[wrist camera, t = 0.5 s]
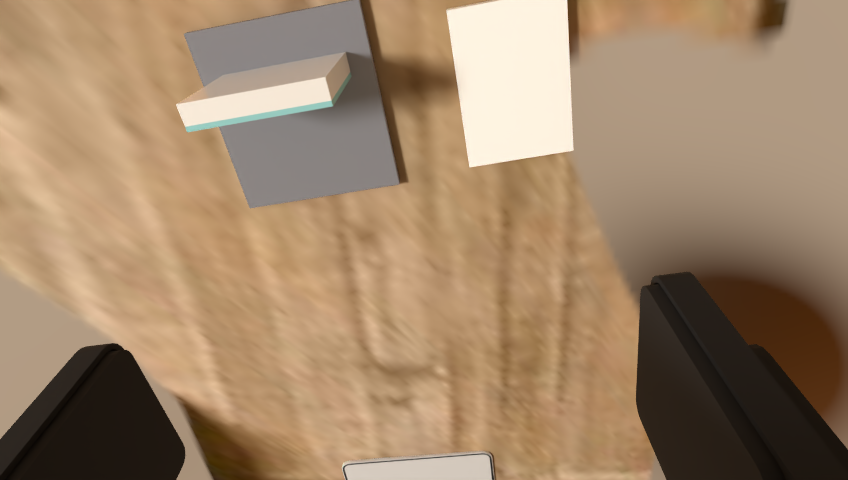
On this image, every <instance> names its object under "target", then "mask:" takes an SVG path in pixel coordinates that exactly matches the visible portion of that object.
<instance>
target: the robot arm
mask: <svg viewBox="0 0 848 480" xmlns="http://www.w3.org/2000/svg"><path fill="white" fill-rule="evenodd" d="M636 404H637V409H638V413H639V417H640V419H641V422H642V424H643V426H644V429H645V431H646V433H647V436H648V438H649V440H650V443H651V445H652V447H653V450H654V452H655V454H656V456H657V459H658V461H659V463H660V466H661V468H662V470H663V473H664V475H665V477H666V480H848V450H847V448H846V447H845V446H844V444H843V443H842V442H841V441H840V440H839V438H838V437H837V436H836V435H835V434H834V432H833V431H832V430H831V428H830V427H829V426H828V425H827V424H826V422H825V421H824V420H823V419H822V417H821V416H820V415H819V414H818V413H817V411H816V410H815V409H814V408H813V406H812V405H811V404H810V403H809V401H808V400H807V399H806V398H805V397H804V395H803V394H802V393H801V392H800V390H799V389H798V388H797V387H796V386H795V384H794V383H793V382H792V381H791V379H790V378H789V377H788V376H787V375H786V373H785V372H784V371H783V370H782V368H781V367H780V366H779V365H778V363H777V362H776V361H775V360H774V359H773V357H772V356H771V355H770V354H769V353H768V352H767V351H766V350H765V349H764V348H763V347H761V346H758V345H756V344H754V345H748V344H747V343H746V342H745V341H744V339H743V338H742V337H741V335H740V334H739V333H738V331H737V330H736V329H735V328H734V326H733V325H732V324H731V322H730V321H729V320H728V319H727V317H726V316H725V315H724V314H723V312H722V311H721V310H720V308H719V307H718V306H717V305H716V303H715V302H714V301H713V299H712V298H711V297H710V296H709V294H708V293H707V292H706V290H705V289H704V288H703V287H702V286H701V284H700V283H699V281H698V280H697V279H696V278H695V276H694V275H693V274H691V273H690V272H683V273H675V274H667V275H659V276H654V277H653V279H652V281H651V285H648V286H643V287H642V289H641V297H640V319H639V342H638V364H637V386H636ZM184 459H185V447H184V445H183V443H182V441H181V439H180V437H179V436H178V434H177V432H176V430H175V429H174V427H173V425H172V423H171V422H170V420H169V418H168V417H167V415H166V413H165V411H164V410H163V408H162V406H161V404H160V402H159V401H158V399H157V397H156V395H155V394H154V392H153V390H152V388H151V387H150V385H149V383H148V381H147V380H146V378H145V376H144V374H143V373H142V371H141V369H140V367H139V366H138V364H137V362H136V360H135V359H134V357H133V355H132V354H131V353H130V352H129V351H127V350H124V349H123V348H122V346H120V345H118V344H114V343H111V344H103V345H96V346H87V347H84V348H81V349H80V350H78V351H77V352H76V353H75V354H74V356H73V357H72V358H71V359H70V360H69V361H68V362H67V363H66V365H65V366H64V367H63V368H62V369H61V370H60V371H59V373H58V374H57V375H56V376H55V377H54V378H53V379H52V381H51V382H50V383H49V384H48V385H47V386H46V388H45V389H44V390H43V391H42V392H41V393H40V394H39V396H38V397H37V398H36V399H35V400H34V401H33V402H32V404H31V405H30V406H29V407H28V408H27V409H26V411H25V412H24V413H23V414H22V415H21V416H20V417H19V419H18V420H17V421H16V422H15V423H14V424H13V425H12V426H11V428H10V429H9V430H8V431H7V432H6V433H5V435H4V436H3V437H2V438H1V439H0V480H176V478H177V477H178V475H179V473H180V471H181V468H182V466H183V463H184Z"/></svg>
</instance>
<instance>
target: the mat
mask: <svg viewBox="0 0 848 480" xmlns="http://www.w3.org/2000/svg"><path fill="white" fill-rule="evenodd" d="M184 36H185V39H186V41H187V44H188V46H189V49H190V52H191V54H192V57H193V60H194V62H195V65H196V68H197V70H198V73H199V75H200V78H201V81H202V83H203V86H204V87H205V86H206V85H208V84H210V83H211V82H213V81H214V80H216V79H218V78H219V77H221V76H222V75H226V74H231V73H236V72H242V71H247V70H252V69H257V68H263V67H268V66H273V65H279V64H284V63H289V62H295V61H300V60H305V59H311V58H316V57H321V56H326V55H332V54H337V53H342V52H346V55H347V59H348V64H349V68H350V72H351V76H352V77H351V78H350V80H349V81H348V83H347V85H346V86H345V88H344V89H343V91H342V93H341V94H340V96H339V98H338V99H337V101H336V102H335V104H334V106H332V107H326V108H321V109H315V110H310V111H304V112H298V113H293V114H287V115H281V116H276V117H270V118H265V119H259V120H253V121H248V122H242V123H237V124H231V125H225V126H220V127H219V128H220V131H221V134H222V136H223V139H224V141H225V144H226V147H227V149H228V152H229V155H230V157H231V160H232V163H233V165H234V168H235V170H236V173H237V176H238V178H239V181H240V184H241V186H242V189H243V192H244V194H245V197H246V199H247V202H248V205H249V207H250V208H255V207H261V206H267V205H273V204H280V203H286V202H292V201H298V200H305V199H311V198H317V197H323V196H330V195H336V194H342V193H348V192H354V191H361V190H367V189H373V188H379V187H386V186H392V185H398V184H399V183H400V179H399V175H398V170H397V166H396V161H395V156H394V152H393V147H392V143H391V138H390V134H389V129H388V124H387V120H386V115H385V111H384V106H383V101H382V97H381V92H380V88H379V83H378V79H377V74H376V69H375V65H374V60H373V56H372V51H371V46H370V42H369V37H368V33H367V28H366V24H365V19H364V14H363V10H362V5H361V1H360V0H349V1H343V2H338V3H333V4H328V5H323V6H318V7H313V8H308V9H303V10H298V11H293V12H288V13H283V14H278V15H273V16H268V17H263V18H258V19H253V20H248V21H243V22H238V23H233V24H228V25H223V26H218V27H212V28H207V29H202V30H197V31H192V32H187V33H185V34H184Z"/></svg>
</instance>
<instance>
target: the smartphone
mask: <svg viewBox="0 0 848 480" xmlns="http://www.w3.org/2000/svg"><path fill="white" fill-rule="evenodd" d="M342 471H343V474H344V477H345V480H495V478H494V468H493V458H492V455H491V453H489V452H487V451H471V452H457V453H444V454H430V455H416V456H403V457H391V458H390V457H386V458H374V459H362V460H350V461H346V462H344V463H343V466H342Z"/></svg>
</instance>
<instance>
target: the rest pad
mask: <svg viewBox="0 0 848 480" xmlns="http://www.w3.org/2000/svg"><path fill="white" fill-rule="evenodd" d="M446 10H447V17H448V24H449V31H450V38H451V44H452V51H453V58H454V65H455V72H456V79H457V85H458V92H459V99H460V106H461V113H462V119H463V126H464V133H465V140H466V147H467V154H468V160H469V167H474V166H481V165H487V164H493V163H499V162H505V161H512V160H518V159H524V158H530V157H536V156H543V155H549V154H555V153H561V152H567V151H573V150H574V149H573V128H572V104H571V80H570V56H569V33H568V9H567V0H491V1H486V2H480V3H475V4H470V5H465V6H460V7H455V8H449V9H446Z"/></svg>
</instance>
